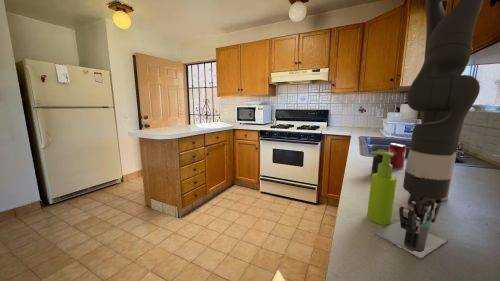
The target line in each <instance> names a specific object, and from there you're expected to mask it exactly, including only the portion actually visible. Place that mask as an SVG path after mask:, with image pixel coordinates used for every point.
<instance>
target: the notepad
mask: <svg viewBox="0 0 500 281" xmlns="http://www.w3.org/2000/svg"><path fill="white" fill-rule="evenodd" d="M405 233H406V230H405V229H403V228H401V224H400V220H399V221H396V222H394V223H392V224H389V225H387V226H385V227H384V228H381V229H379V230H377V231H375V235H376V234H378V235H380V236H382V237H383V238H386V239H387V240H389V241H391V242H393V243H395V244H397V245H399V246H401V247H402V248H405V249H406V250H408V251H411V252H413V250H411V249H409V248H408V247H406V246H405V245H404V239H405ZM378 235H377V236H378ZM380 236H379V237H380ZM383 238H382V239H383ZM387 240H386V241H387ZM446 240H448V241H449V239H448V238H447V237H444V236H442V235H440V234H437V233H436V232H433V231H431V230H430V229H429V230H428V235H427V239H426V244H425V248H426V247H427V248H428V245H429V247H431V245H434V247H435V245H436V247H437V245H438V246H439V245H440V244H442V243H443V242H445V241H446Z"/></svg>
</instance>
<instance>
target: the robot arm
mask: <svg viewBox="0 0 500 281" xmlns="http://www.w3.org/2000/svg"><path fill="white" fill-rule="evenodd" d="M444 1H446V0H425V20H426V22H425V23H426V25H425V26H426V28H425V29H426V36H425V37H426V38H425V47H424V48H425V49H424V61H423V64H422V67H421V68H420V70H419V72H418V74H417V75H416V76H415V78H414V80H413V82H412V83H411V85H410V86H409V89H408V90H407V91H408V92H407V94H406V102H407V104H408V107H410V109H411V110H413V111H416V112H421V118H420V122H421V123H417V124H416V125H414V127H413V129H412V133H411V134H412V135H411V140H410V147H409V151H408V154H407V158H406V164H405V170H404V179H403V184H402V186H403V189H404V190H405V192H408V193H409V196H408V199H407V202H406V207H404V206H402V205H401V206H400V207H399V209H398V210H399V212H398V214H399V221H400V224H401V228H403V229H405V230H406V235H405V243H406V244H407V245H409V246H411V247H413V248H415V247H417V244H418V238H419V232H420V229H421V225H422V224H425V222H426V219H427V220H429V221H430V226H429V228H430V227H431V226H432V223H435V222H436V219H437V216H438V213H439V211H440V207H441V204H442V202H443V201H445V202H446V201H447V200H448V199H449V195H450V190H451V185H452V178H453V173H454V168H455V162H456V159H457V158H456V157H457V153H458V147H459V143H460V142H459V141H460V136H461V132H462V128H463V125H464V122H465V118H466V117H467V115H468V114H469V112H470V110H471V109H472V107H473V106H474V103H475V102H476V100H477V99H478V97H479V94H480V89H481V86H480V85H481V84H480V83H479V81H478V79H477V78H476V77H474V76H473V75H469V74H463V73H464V72H465V70H466V68H467V66H468V65H469V62H470V57H471V51H472V45H473V38H474V32H475V27H476V23H477V20H478V17H479V14H480V11H481V9H482V5H483V3H484V0H460V1H459V2H457V4H456V5H455V6H454V7H453V8H452V9H451V10H450V11H449V12H448V13H447V14H446V11H445V9H444V5H443V2H444ZM416 216H417V217H419V218H421V219H418V218H416ZM416 223H417V224H416Z"/></svg>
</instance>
